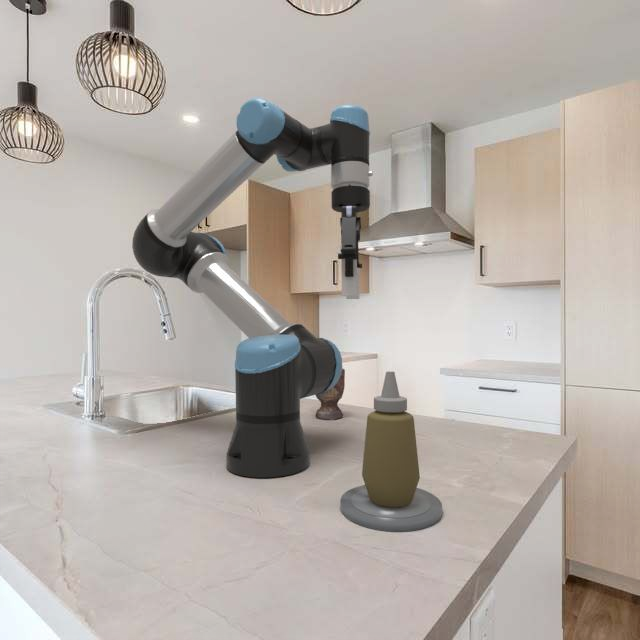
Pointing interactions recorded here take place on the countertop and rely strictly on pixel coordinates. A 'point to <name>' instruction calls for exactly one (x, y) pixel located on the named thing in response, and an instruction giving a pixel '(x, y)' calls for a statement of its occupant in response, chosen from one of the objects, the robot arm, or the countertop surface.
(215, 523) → the countertop surface
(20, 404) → the countertop surface
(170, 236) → the robot arm
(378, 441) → the squeeze bottle
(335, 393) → the mortar and pestle
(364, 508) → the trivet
